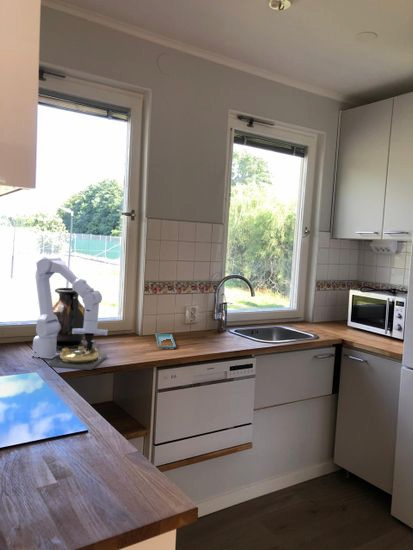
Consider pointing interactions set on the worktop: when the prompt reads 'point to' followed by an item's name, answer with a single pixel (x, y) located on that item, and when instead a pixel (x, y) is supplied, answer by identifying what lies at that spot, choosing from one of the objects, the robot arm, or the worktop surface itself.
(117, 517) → the worktop surface
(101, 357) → the base plate
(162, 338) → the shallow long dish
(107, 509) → the worktop surface
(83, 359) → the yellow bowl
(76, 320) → the amphora vase
